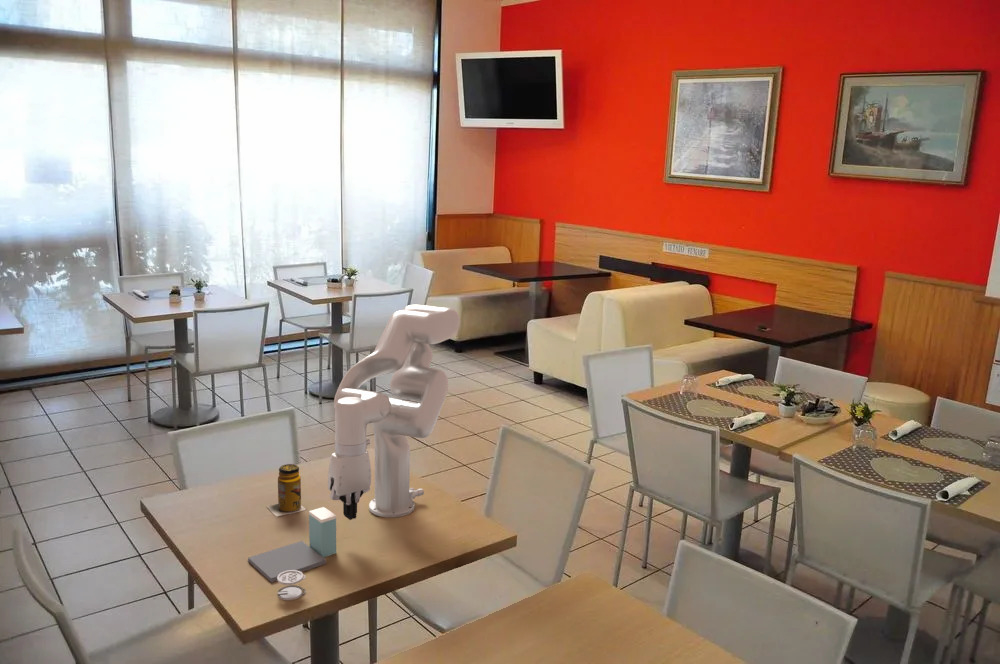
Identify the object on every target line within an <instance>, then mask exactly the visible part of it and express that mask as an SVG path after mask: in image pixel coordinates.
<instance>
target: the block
mask: <svg viewBox="0 0 1000 664" xmlns="http://www.w3.org/2000/svg"><path fill="white" fill-rule="evenodd" d="M308 522H309V523H308V524H309V527H308V528H309V529H308V530H309V531H308V534H309V535H308V536H309V537H308V540H309V547H310V548H312V549H313V550H314V551H316V552H317V553H318V554H319V555H321V556H322V557H323V558H327V557H329V556H332V554H333V555H335V553H336V554H337V515H336V514H335V513H333V512H332V511H330V510H329V509H327V508H326V507H324V506H322V507H319V508H315V509H312V510H309V511H308Z"/></svg>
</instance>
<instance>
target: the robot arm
mask: <svg viewBox="0 0 1000 664" xmlns="http://www.w3.org/2000/svg"><path fill="white" fill-rule="evenodd" d="M460 322H461V321H460V315H459V313H458V312H457V310H455V309H453V308H452V307H443V306H437V305H436V306H435V305H428V304H418V303H417V304H416V303H414V304H409V305H406V306H404V307H403V309H401V310H399V309H398V310H397V311H394V312H393V313H392V314H391V315H390V317H389V319H388V321H387V323H386V325H385V327H384V329H383V332H382V334H381V335H380V338H379V340H378V343H377V344H376V346H375V349H374V351H373V352H371V354H369V355H367V356H366V357H364V358H362V359H361V360H359V361H358V362H357V363H355V364H353V366H352V367H350V368H349V369H348V370H347V371H346V372H345V374H344V376H343V377H342V380H341V382H340V383H339V386H338V387H337V390H336V393H335V395H334V399H333V407H334V450H335V451H334V452H333V453H332V454H331V456H330V461H329V466H328V475H327V488H328V489H327V490H328V491H330V496H329V497H330V499H331V500H333V501H340V502H341V503H342V504H343V508H342V509H343V510H342V512H343V516H344V517H345V518H346V519H348V520H350V521H352V520H354V519H357V513H358V503H359V502H360V498H361V497H362V496H363V495H364V494H366V493H368V492H369V491H370V490H371V485H372V468H371V467H372V466H371V459H370V455H369V451H368V450H367V446H368V445H370V443H371V440H370V439H368V438H367V425H369V424H371V426H372V430H373V436H374V498H373V499H371V500H370V502H369V503H368V510H369V511H370V513H372V514H373V515H375V516H378V517H383V518H400V517H405V516H407V515H410V514H411V513H412V512H413V511H414V510H415V509H416V503H415V501H414V499H415V498H417V497H421V496H423V495H424V494H425V493H424V492H425V491H424V488H418V489H415V487H410V485H411V484H410V477H411V475H410V474H411V473H410V472H411V471H410V470H411V469H410V467H411V463H410V461H411V448H410V443H409V440H408V438H407V437H410V438H416V439H425V438H426V439H427V438H428V437H429V436H430V435H431V434H432V432H433V431H434V429H435V426H436V423H437V421H438V419H439V416H440V413H441V410H442V409H443V406H444V403H445V401H446V397H447V394H448V387H449V380H448V376H447V375H446V373H445V372H444V371H443V370H441V369H438V368H435V367H434V368H433V367H431V363H432V361H433V351H432V349H431V347H430V345H436V344H440V343H442V342H445V341H447V340H449V339H452V338H453V337H454V336H455V335H456V334H457V333H458V330H459V327H460ZM390 373H393V374H392V376H391V379H390V383H389V389H390V392H391V394H392V395H393V396H395V397H389V396H388V395H387V394H385V393H383V392H381V391H374V390H373V391H372V390H368V389H363V388H361V386H362V385H364V384H365V383H366V382H367V381H370V380H372V379H375V378H376V377H380V376H384V375H388V374H390Z"/></svg>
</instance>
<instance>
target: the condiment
mask: <svg viewBox="0 0 1000 664" xmlns="http://www.w3.org/2000/svg"><path fill="white" fill-rule="evenodd" d="M299 467H300V466H298V465H297V464H294V463H287V464H283V465H281V466H280V467H279V469H278V477H277V497H278V498H277V501H278V503H275V504H271V505H267V506H266V507H267V509H268V510H269V511H270V512H271V514H273V515H274V516H275V517H276V518H277V517H278V518H279V517H280V516H284V515H285V516H286V515H288V514H289V515H291V514H296V513H298V512H299V513H300V512H302V511H306V510H307V508H305V507H304V506H303V505H302V483H301V482H302V481H301V478H302V477H301V475H300V468H299Z"/></svg>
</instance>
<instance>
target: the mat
mask: <svg viewBox="0 0 1000 664" xmlns="http://www.w3.org/2000/svg"><path fill="white" fill-rule="evenodd" d="M247 562H248V563H249V564H250V565H251V566H253V567H254V568H255V569H256V570H257V571H258V572H259V573H260V574H261V575H262V576H264V577H265V578H266V579H267V580H268V581H269V582H270V583H273V582H276V581H277V576H278V575H279V574H280V573H282V572H284V571H288V570H297V571H300V572H302V573H303V572H305V571H309V570H311V569H314V568H317V567H318V568H319V567H321V566H323V565H326V564H327V559H326V557H324V558H323V557H322V556H321V555H319V554H318V553H317V552H316V551H314V550H313V549H312V548H310V545H308V544H307V543H306V542H304V541H303V540H299V541H297V542H293V543H289V544H287V545H284V546H280V547H277V548H274V549H272V550H268V551H265V552H261V553H259V554H255V555H252V556H250V557H248V558H247ZM277 582H278V581H277Z"/></svg>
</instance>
